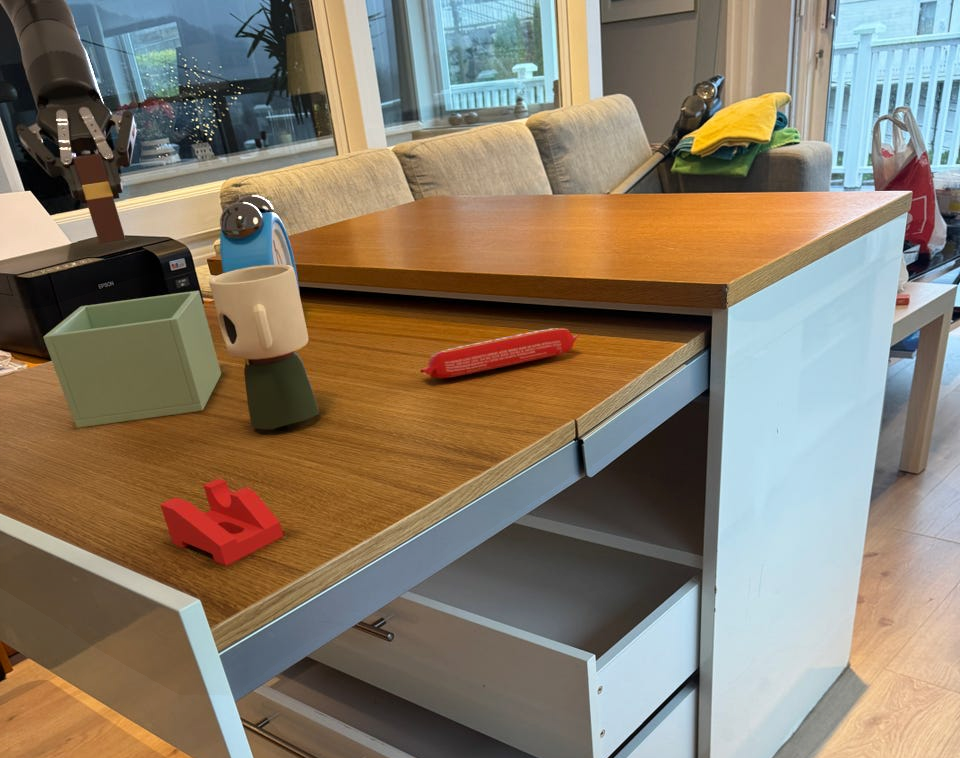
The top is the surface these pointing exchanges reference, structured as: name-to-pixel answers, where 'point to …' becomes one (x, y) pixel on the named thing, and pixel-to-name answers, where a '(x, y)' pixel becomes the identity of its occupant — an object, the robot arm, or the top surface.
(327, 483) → the top surface
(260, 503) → the bracket
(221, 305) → the character mug
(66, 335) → the trash bin
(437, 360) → the packaged sausage
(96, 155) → the chocolate carton
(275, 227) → the alarm clock
